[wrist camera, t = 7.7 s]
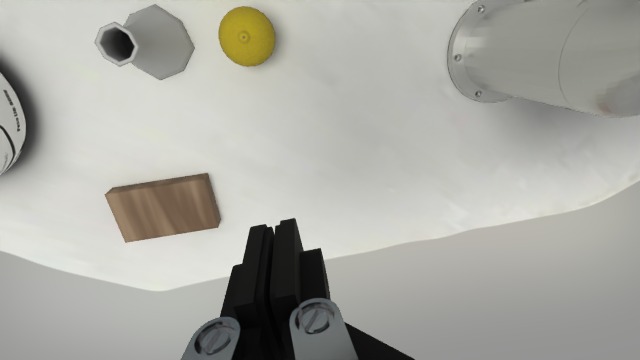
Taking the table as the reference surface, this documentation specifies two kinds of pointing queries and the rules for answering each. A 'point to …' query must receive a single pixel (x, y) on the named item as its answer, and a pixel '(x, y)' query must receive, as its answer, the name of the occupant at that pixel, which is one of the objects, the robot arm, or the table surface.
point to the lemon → (246, 36)
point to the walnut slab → (164, 207)
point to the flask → (147, 42)
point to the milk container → (10, 126)
